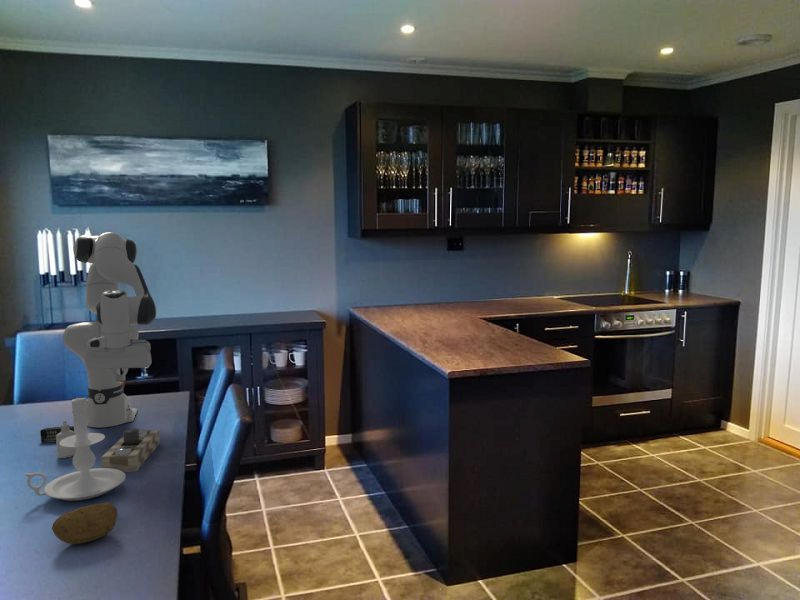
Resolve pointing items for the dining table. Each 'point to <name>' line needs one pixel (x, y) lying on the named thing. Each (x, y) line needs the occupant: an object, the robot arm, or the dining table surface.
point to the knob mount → (135, 457)
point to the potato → (85, 523)
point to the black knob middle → (131, 437)
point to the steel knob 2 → (142, 433)
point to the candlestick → (80, 464)
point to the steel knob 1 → (123, 450)
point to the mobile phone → (51, 433)
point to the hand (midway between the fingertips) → (120, 380)
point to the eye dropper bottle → (66, 432)
